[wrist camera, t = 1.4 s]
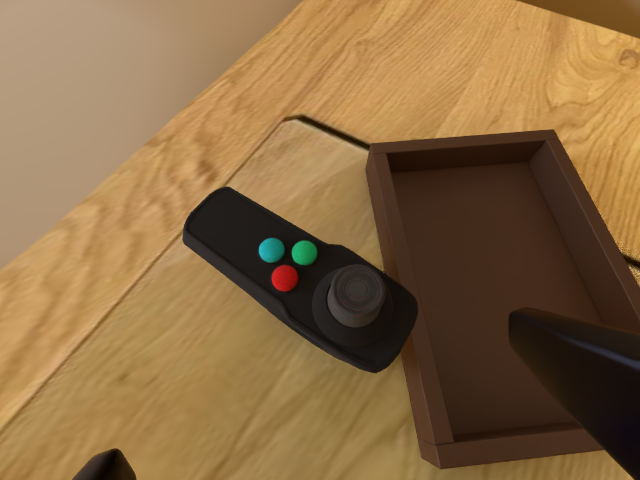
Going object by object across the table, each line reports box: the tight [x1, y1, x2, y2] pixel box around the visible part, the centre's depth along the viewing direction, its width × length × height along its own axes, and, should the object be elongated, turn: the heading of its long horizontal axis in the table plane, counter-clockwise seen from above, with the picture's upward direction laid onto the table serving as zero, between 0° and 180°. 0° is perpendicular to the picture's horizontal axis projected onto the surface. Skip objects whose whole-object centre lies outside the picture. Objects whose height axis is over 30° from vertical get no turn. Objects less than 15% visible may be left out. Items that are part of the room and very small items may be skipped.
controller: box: [182, 187, 418, 373], centre depth 17 cm, size 4×12×10 cm, turn 55°
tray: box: [365, 129, 640, 469], centre depth 21 cm, size 20×14×3 cm
